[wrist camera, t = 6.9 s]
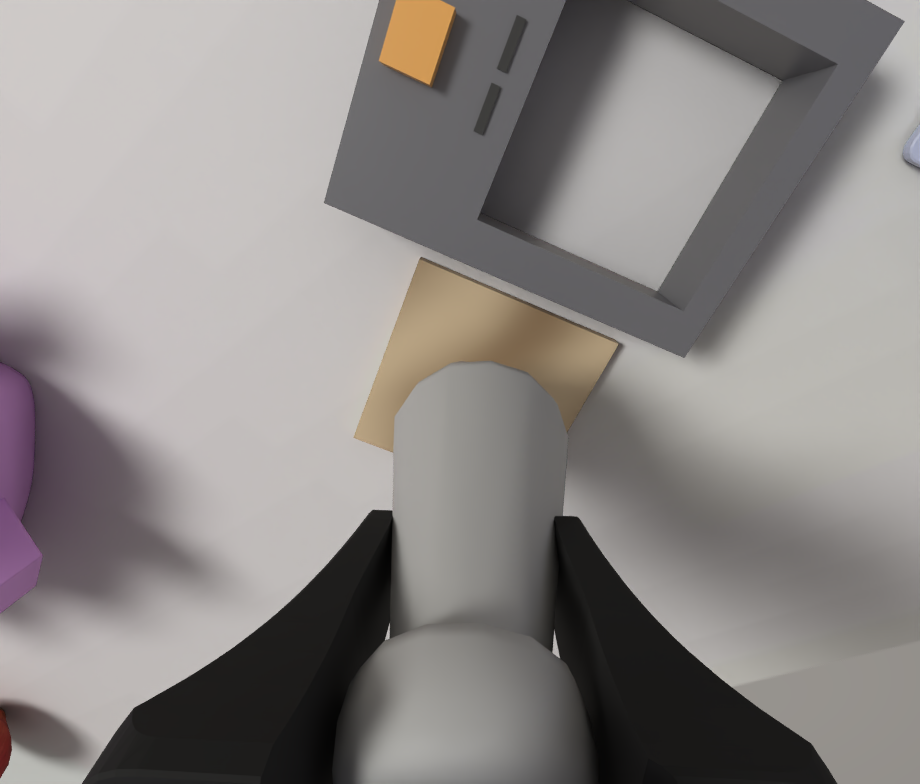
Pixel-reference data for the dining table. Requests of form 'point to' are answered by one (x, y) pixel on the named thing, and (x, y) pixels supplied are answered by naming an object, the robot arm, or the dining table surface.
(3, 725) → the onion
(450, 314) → the oak pad
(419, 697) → the salt shaker
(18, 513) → the teakettle
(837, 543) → the dining table surface
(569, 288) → the grey flat block
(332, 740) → the robot arm
